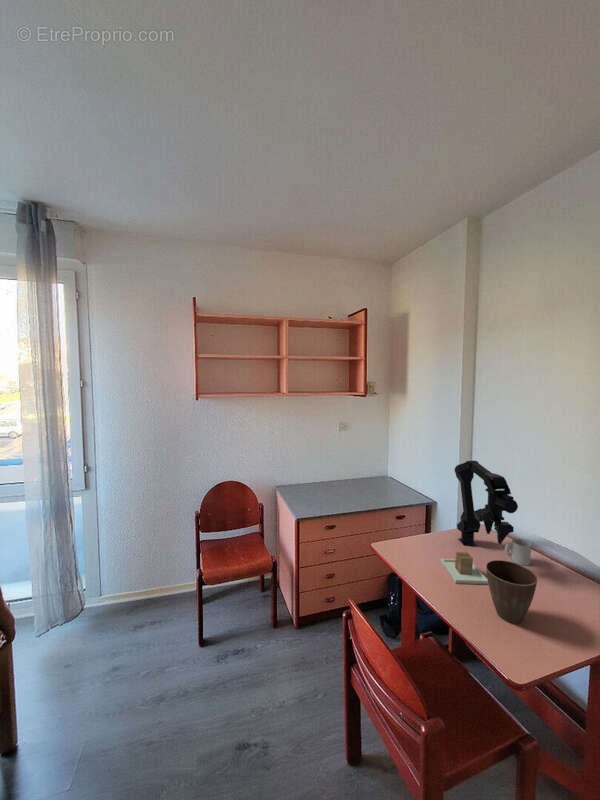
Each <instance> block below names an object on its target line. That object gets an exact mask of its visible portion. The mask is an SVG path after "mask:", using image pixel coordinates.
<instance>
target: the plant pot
mask: <svg viewBox="0 0 600 800" xmlns="http://www.w3.org/2000/svg"><path fill="white" fill-rule="evenodd" d="M485 571H486V576H487V577H486V578H487V579H488V584H489V585H488V588H489V593H490V595H491V596H490V597H491V599H492V601H493V605H494V609H495V611H496V614H497V615H498V616H499V618H501V619H502V621H505V622H507V623H510V624H520V623H522V621H523V620H524V618H525V617H526V615H527V613H528V611H529V609H530V606H531V605H532V602H533V600H534V599H533V598H534V596H535V593H536V588H537V584H538V577H537V575H536V574H535V573H534V572H533V571H531V569H528V567H525V566H524V565H520V564H517V563H515V562H513V561H508V560H498V559H497V560H496V559H494V560H490V561H489V562H486V564H485Z"/></svg>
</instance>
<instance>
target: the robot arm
mask: <svg viewBox="0 0 600 800" xmlns="http://www.w3.org/2000/svg"><path fill="white" fill-rule="evenodd" d="M454 473H455V477H456V479H457V481H459V483H460V491H461V500H462V513H461V515H460V521H459V522H458V523H457V525H456V529H457V530H458V531H459V532H460V534H461V536H460V537H459V538H458V541H459V542H460V543H461V544H462V545H463V546H471V547H472V546H475V547H477V545H478V544H477V543H476V542H475V533H477V534H478V533H479V531H480V529H481V522H482V523H483V525H484V528H485V531H486V534H487V535H490V533H491V532H492V529H493V530H494V531H495V532H496V534H497V535H496V536H497V538H496V539H497V543H498V544H499V545H501V544H502V543H503V541H504V540H505V538H506V537H507V536H508V535H510V534H511V533H514V531H515V530H514V526H513V525H512V524H511V523H509V522H508V521H505V517H504V516H503V512H506V513H508V514H514V513H515V512H517V510H518V508H519V504H518V503H517V500H515V499H514V496H512V493H511V488H510V487H509V484H508V482H507V480H506V478H505V477H504V476H503V475H500V474H497V473H493V472H492V471H490V470H488V469H487V468H486V467H485V466H484V465H482V464H480V462H478V460H467V461H465V462H463V463H461V464H456V466H455V467H454ZM474 475H476V476H478V477H479V479H481V480H483V485H484V486H485V487H486V489H485V491H486V492H487V504H486V503H485V505H484V508H478V509H476V510H475V508H474V499H473V491H472V489H473V488H472V481H473V479H474V477H475V476H474ZM493 527H494V528H493Z"/></svg>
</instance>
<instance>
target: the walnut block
mask: <svg viewBox="0 0 600 800" xmlns="http://www.w3.org/2000/svg"><path fill="white" fill-rule="evenodd" d="M454 557H455V558H454V559H455V568H456V570H457V571H458V572H459V573H460V574H466V575H472V567H473V563H474V562H473V561H474V559H473V556H471V554H469V552H466V551H463V552H462V551H455V555H454Z"/></svg>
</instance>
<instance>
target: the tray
mask: <svg viewBox="0 0 600 800" xmlns="http://www.w3.org/2000/svg"><path fill="white" fill-rule="evenodd" d="M440 563H441V564H442V565H443V567H444V568H445V570H446V571H447V573H448V574H449V576H450V578H452V580H453V581H454V583H455V584H456V585H457V584H459V585H460V584H464V585H488V586H489V584H488V578H487V577H486V576H485V575H484V573H483V572H482V571H481V570H480V569H479V568H478V567H477V566H476V564H475V563H474V562H473V567H472V575H466V574H460V573H459V572H458V571H457V570H456V568H455V558H440Z"/></svg>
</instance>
